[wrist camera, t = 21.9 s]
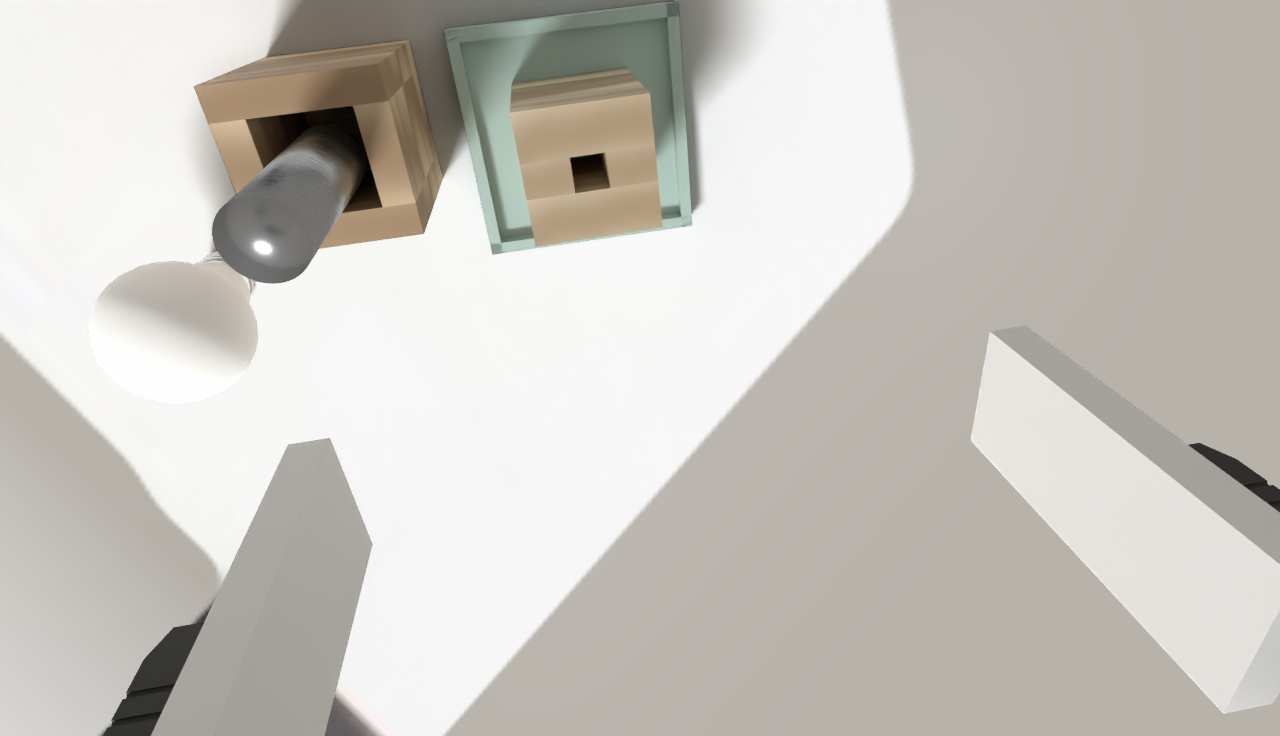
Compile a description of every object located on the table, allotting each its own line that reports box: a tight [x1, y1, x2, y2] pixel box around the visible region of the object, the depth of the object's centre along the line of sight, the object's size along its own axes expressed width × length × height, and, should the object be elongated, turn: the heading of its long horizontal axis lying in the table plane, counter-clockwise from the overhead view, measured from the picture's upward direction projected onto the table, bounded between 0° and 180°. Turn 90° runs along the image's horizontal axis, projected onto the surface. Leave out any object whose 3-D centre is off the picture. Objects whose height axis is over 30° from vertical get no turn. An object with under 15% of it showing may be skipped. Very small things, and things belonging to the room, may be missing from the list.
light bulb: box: [88, 251, 258, 404], centre depth 35 cm, size 7×7×11 cm
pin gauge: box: [212, 106, 371, 283], centre depth 29 cm, size 3×3×15 cm
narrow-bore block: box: [510, 67, 663, 247], centre depth 35 cm, size 6×6×8 cm
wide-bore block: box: [194, 40, 443, 249], centre depth 33 cm, size 7×7×9 cm
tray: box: [444, 1, 692, 254], centre depth 38 cm, size 12×12×1 cm
